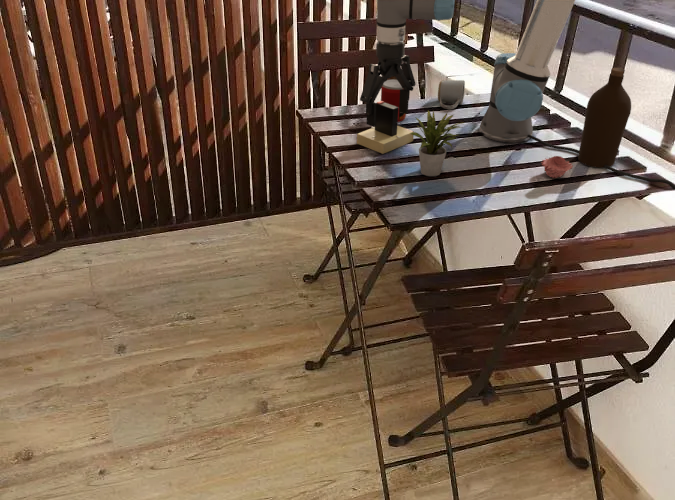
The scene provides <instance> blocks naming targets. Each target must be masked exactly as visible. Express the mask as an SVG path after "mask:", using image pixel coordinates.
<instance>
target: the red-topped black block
mask: <svg viewBox="0 0 675 500" xmlns="http://www.w3.org/2000/svg"><path fill="white" fill-rule="evenodd" d="M375 103H376V126H375V130H376V131H378V132H381V133H384V134H386V135H389V136H391V137H392V136H394V135H397V126H398V123H399V122H398V107H396V106H393V105H390V104H387V103H384V102H383V101H381V100H380V101H377V102H375Z"/></svg>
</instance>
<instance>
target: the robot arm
mask: <svg viewBox="0 0 675 500" xmlns="http://www.w3.org/2000/svg"><path fill="white" fill-rule="evenodd" d="M455 1H456V0H376V31H375V32H376V34H375V35H376V36H375V40H376V41H377V42H376V43H375V56H376V57H377V64H373V63H370V64H369V65H368V73H367V77H366V78H365V82H364V85H363V89H362V91H361V95H360V97H359V101H360V102H362V103H365V114H366V125H368V126H371V127H375V126H376V103H377V102H375V101H376V99H377V97H378V95H379V93H380V91H381V88H382V86H383V84H384V82H386V81H387V80H389V79H391V78H392V77H395V80H398V82H399V83H400V85H401V87H402V88H403V89H400V99H399V112H401V113H404V114H406V115H407V114H408V113H409V101H410V94H411V92H412V91H414V87H415V86H416V80H415V77H414V74H413V69H412V66H411V59H410V55H407V54H405V49H406V48H405V47H406V43H405V42H404V41H405V40H406V25H407V20H408V19H409V20H428V21H429V20H431V21H438V22H439V21H449V20H452V18H454V14H455V13H454V12H455ZM575 2H576V0H536V1H535V4H534V7H533V9H532V12H531V15H530V17H529V20H528V22H527V24H526V28H525V30H524V32H523V35H522V37H521V40H520V42H519V44H518V47H517V50H516V52H504V53H499V54H497V56H496V57H495V62H494V63H493V67H494V68H493V74H492V75H493V76H492V81H491V82H492V83H491V89H490V97H489V104H488V107H487V109H486V110H485V114H484V115H483V117H482V119H481V121H480V125H479V130H478V131H479V133H480V135H481V136H483V137H484V138H486V139H488V140H491V141H494V142H499V143H505V144H506V143H509V144H517V143H522V142H527V141H529V140H530V139H531V140H533V141H535V142H538V143H540V144H541V145H543V146H545V147H548V148H551V149H556V150H560V151H561V150H563V151H569V152H572V153H575V154H579V149H577V148H573V147H568V146H567V147H566V146H562V145H554V144H551V143H549V142H546V141H544V140H543V139H540V138H538V137H537V136H535V135H533V132H534V125H533V121H532V118H533V117H534V116H536V114H537V113H538V112H539V111H540V110H541V108H542V105H543V100H544V92H545V91H544V90H545V89H546V86H547V83H548V81H549V79H550V76H551V72H550V69H549V63H550V61H551V59H552V57H553V54H554V52H555V50H556V47H557V45H558V42H559V40H560V38H561V35H562V32H563V31H564V28H565V26H566V24H567V21H568V18H569V16H570V14H571V12H572V9H573V7H574V4H575ZM603 169H607V170H609V171H611V172H613V173H616V174H619V175H621V176H625V177H629V178H632V179H637V180H640V181H645V182H651V183H662V184H666V185H668V186H670V187H671V188H672V189H673V190H674V191H675V184H674V182H672V181H670V180H668V179H665V178H664V179H663V178H650V177H646V176H641V175H638V174H634V173H629V172H626V171H622V170H619V169H617V168H615V167H613V166H611V167H610V166H608V165H604V168H603Z"/></svg>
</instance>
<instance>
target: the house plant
mask: <svg viewBox="0 0 675 500" xmlns="http://www.w3.org/2000/svg"><path fill="white" fill-rule="evenodd" d="M448 113H449V111H447V112H446V113H445V114H444V116H443V117H442V118H441V120H439V122H438V124H437V121H436V117H435V115H436V114H435V112H434V110H432V114H431V111H430V110H429V109H428V110H427V113H426V126H425V124H424V123H423V121H421V120H420V118H417V117H415V120H417V122H418V124H419V125H420V126H419V125H417V127H418V128H419V129H420V131H421V132H422V133H423V135H424V137H423V135H421V133H419V132H416V131H414V132H412V133H410V134H412V135H414V136H415V137H417V138H418V139H420V140H421V142H420V143H421V144H420V146H419V148H418V155H419V157H418V158H419V165H420V173H421V174H422V175H423V176H426V177H437V176H440V174H441V173H442V169H443V166H444V162H445V158H446V155H447V152H448V151H447V149H446V147H444V146H445V145H447V146H449V147H450V148H453V144H452V142H450V141H453V140H457V136H458V137H459V134H453V133H450V131H451V130H455V129H463V128H464V126H461V125H462V124H463V125H464V122H457V123H454V124H451V125H450V126H448V124H449V123H450V120H451V119H452V118H453V117H454V115H455V114H451V115H449V116H448ZM447 116H448V117H447ZM414 136H413V137H414Z"/></svg>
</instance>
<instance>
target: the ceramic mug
mask: <svg viewBox="0 0 675 500" xmlns="http://www.w3.org/2000/svg"><path fill="white" fill-rule="evenodd" d="M465 87H466V82H465V80H464V79H456V80H455V79H445V80H440V82H439V83H438V89H437V101H438V102H439V105H440V107H441V108H442V109H444V110H454V109H456V108H457V107H458V105H459V106H462V105H463V103H464V100H465V99H464V98H465ZM446 104H449V105H446Z"/></svg>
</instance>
